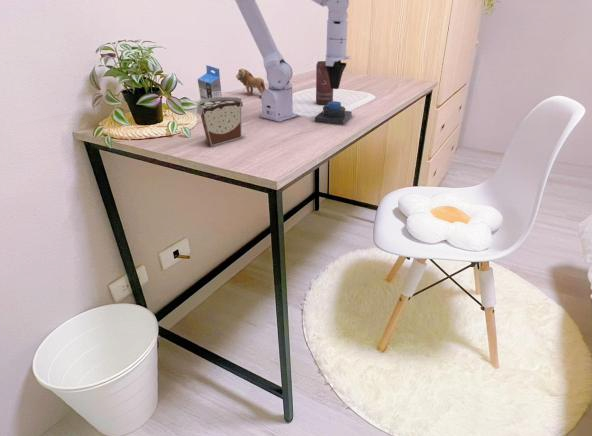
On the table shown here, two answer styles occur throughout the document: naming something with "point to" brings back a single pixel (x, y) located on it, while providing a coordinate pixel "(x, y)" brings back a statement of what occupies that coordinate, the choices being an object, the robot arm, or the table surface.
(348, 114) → the button base
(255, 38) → the robot arm
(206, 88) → the tape cartridge
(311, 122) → the table surface
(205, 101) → the food container
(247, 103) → the table surface
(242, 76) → the lion figurine
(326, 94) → the can
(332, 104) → the blue button cap
